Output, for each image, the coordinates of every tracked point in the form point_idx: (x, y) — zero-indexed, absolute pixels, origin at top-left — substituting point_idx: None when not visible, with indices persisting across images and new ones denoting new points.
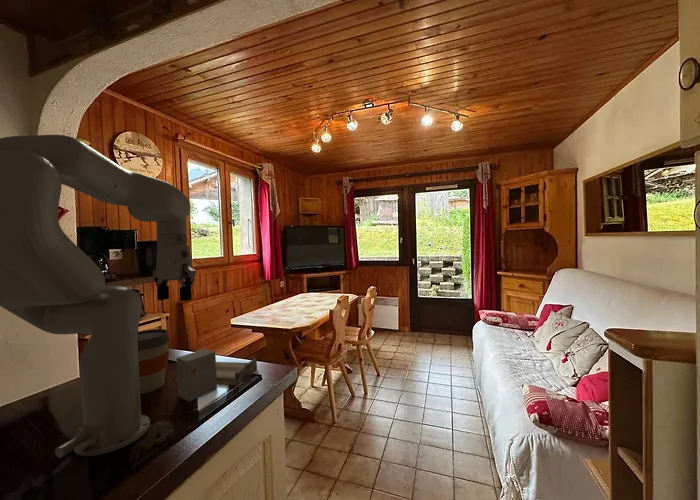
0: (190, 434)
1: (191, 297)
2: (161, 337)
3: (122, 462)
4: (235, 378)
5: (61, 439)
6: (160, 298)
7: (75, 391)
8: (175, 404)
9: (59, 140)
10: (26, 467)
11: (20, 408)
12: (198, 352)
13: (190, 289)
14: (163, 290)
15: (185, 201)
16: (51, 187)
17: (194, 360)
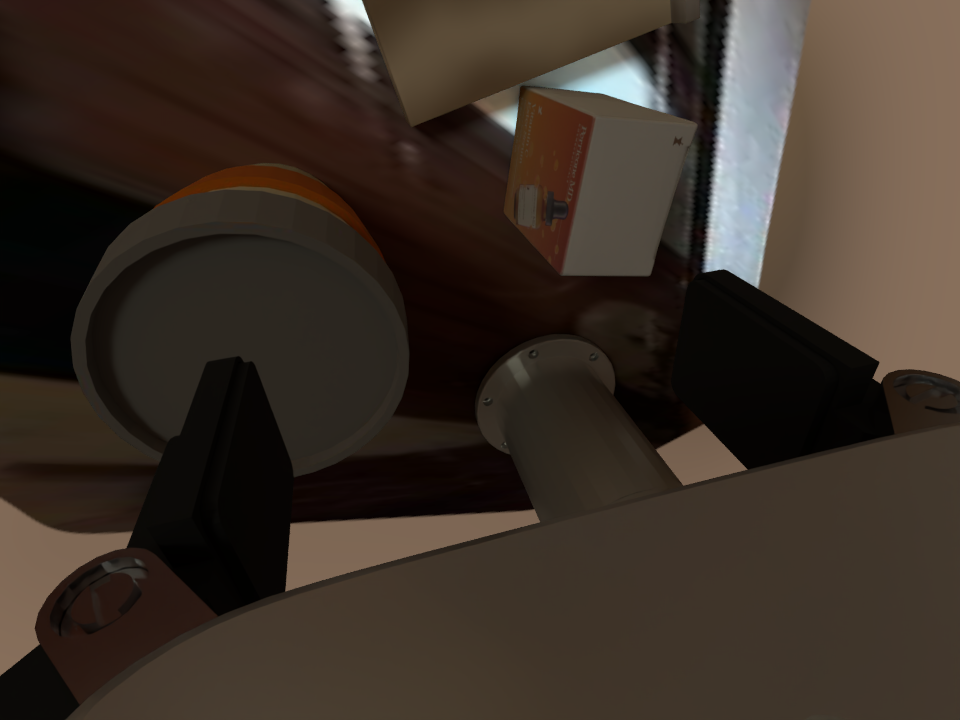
0: None
1: (734, 275)
2: (399, 309)
3: (643, 404)
4: (671, 22)
5: (438, 457)
6: (289, 473)
7: (50, 403)
8: None
9: None
10: (490, 495)
11: (89, 512)
12: (614, 179)
13: (821, 342)
14: (264, 528)
15: None
16: None
17: (658, 240)
